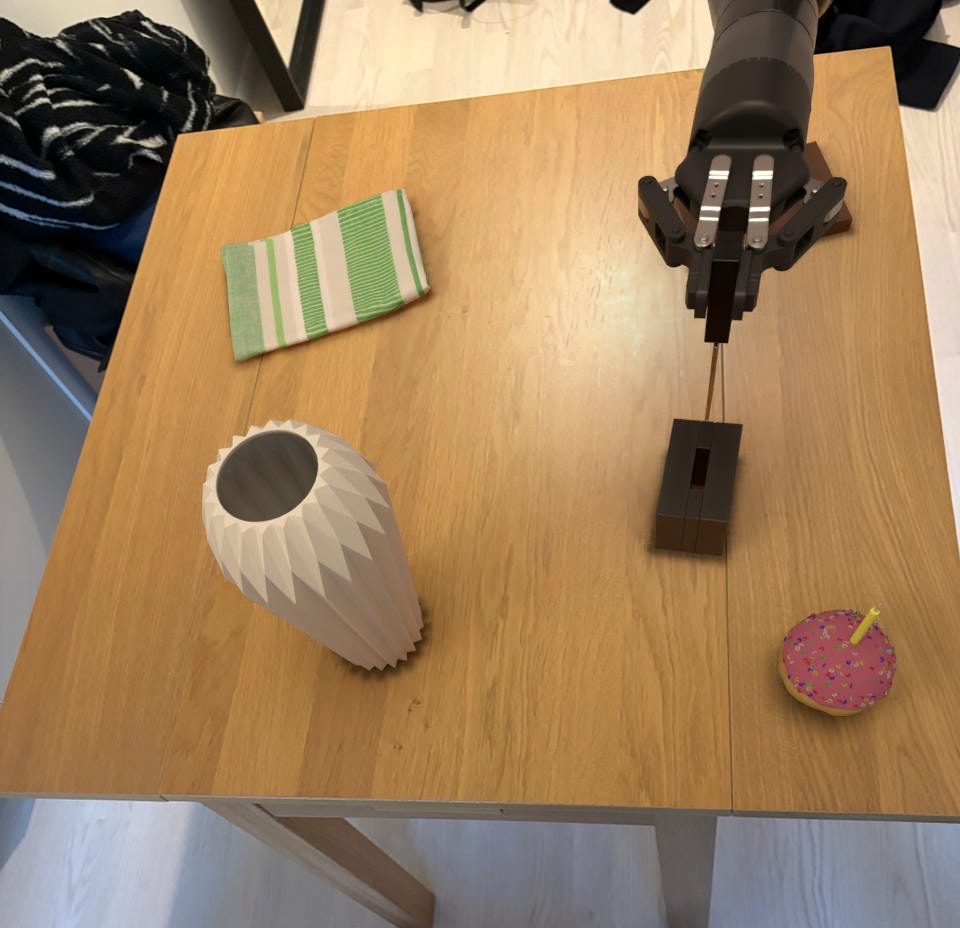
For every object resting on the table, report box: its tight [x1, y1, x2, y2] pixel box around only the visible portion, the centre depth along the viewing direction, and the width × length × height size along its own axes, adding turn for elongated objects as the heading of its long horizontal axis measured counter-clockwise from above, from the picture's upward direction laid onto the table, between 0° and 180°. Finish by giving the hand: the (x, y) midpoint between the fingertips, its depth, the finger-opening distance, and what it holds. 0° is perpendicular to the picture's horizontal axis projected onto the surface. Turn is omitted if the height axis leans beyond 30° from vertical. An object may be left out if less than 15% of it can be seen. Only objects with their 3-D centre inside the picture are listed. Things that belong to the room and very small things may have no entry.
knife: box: [703, 231, 744, 421], centre depth 56 cm, size 2×3×15 cm, turn 167°
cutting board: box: [674, 140, 853, 250], centre depth 88 cm, size 16×12×2 cm
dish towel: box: [220, 188, 432, 362], centre depth 95 cm, size 18×23×3 cm
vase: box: [201, 418, 425, 672], centre depth 65 cm, size 13×13×26 cm
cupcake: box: [777, 602, 899, 717], centre depth 63 cm, size 9×8×12 cm
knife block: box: [654, 418, 744, 556], centre depth 74 cm, size 6×10×6 cm, turn 167°
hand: (719, 309), depth 50 cm, fingers closed on knife, 1 cm apart
